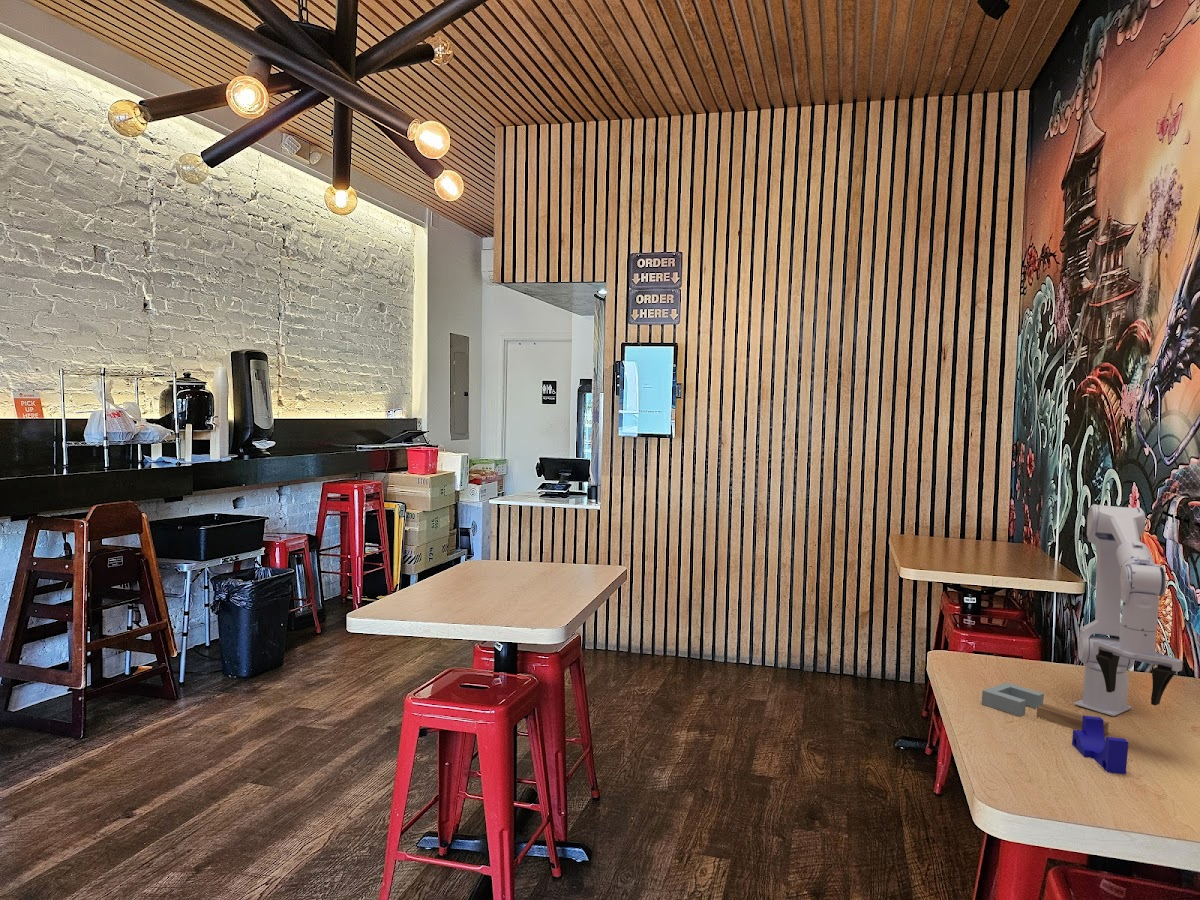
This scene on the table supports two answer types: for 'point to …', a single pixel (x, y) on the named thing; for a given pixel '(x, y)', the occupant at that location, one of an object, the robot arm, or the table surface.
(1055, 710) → the slat
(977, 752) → the table surface
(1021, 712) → the end cap
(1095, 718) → the cable clip
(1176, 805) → the table surface
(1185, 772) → the table surface
